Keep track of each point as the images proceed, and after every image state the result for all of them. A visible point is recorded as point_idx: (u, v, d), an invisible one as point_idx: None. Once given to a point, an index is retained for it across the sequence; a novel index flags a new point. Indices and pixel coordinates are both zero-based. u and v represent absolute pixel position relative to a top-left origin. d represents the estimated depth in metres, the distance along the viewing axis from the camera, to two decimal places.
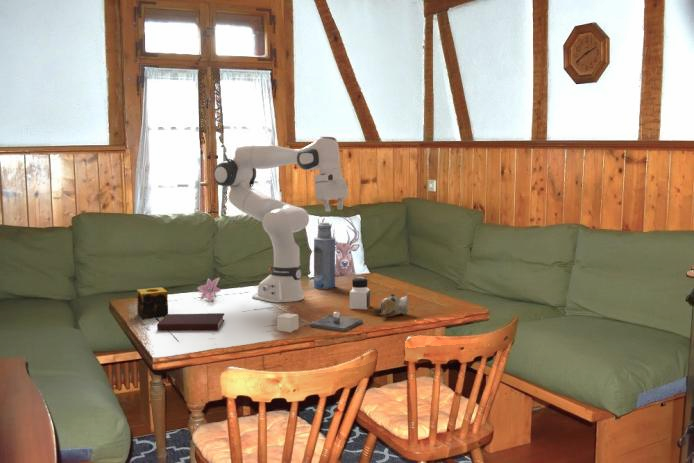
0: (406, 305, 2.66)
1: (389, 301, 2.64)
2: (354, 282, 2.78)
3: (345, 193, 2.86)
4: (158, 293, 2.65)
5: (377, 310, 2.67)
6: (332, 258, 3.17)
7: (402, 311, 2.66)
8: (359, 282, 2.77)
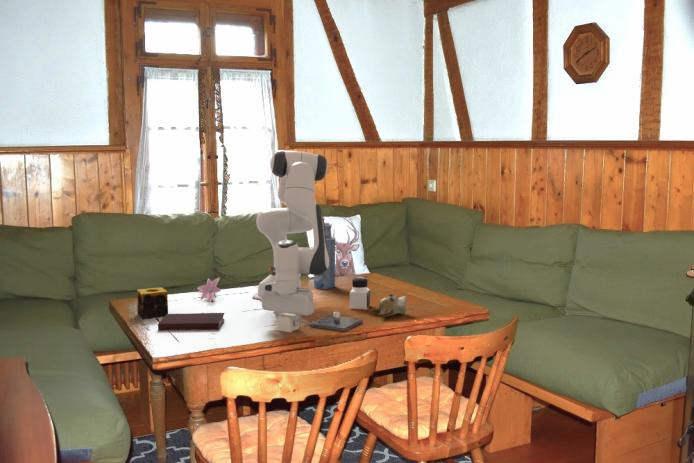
0: (404, 305, 2.66)
1: (388, 301, 2.64)
2: (354, 282, 2.78)
3: (302, 310, 2.42)
4: (158, 293, 2.65)
5: (375, 310, 2.67)
6: (332, 258, 3.17)
7: (400, 311, 2.67)
8: (359, 282, 2.77)
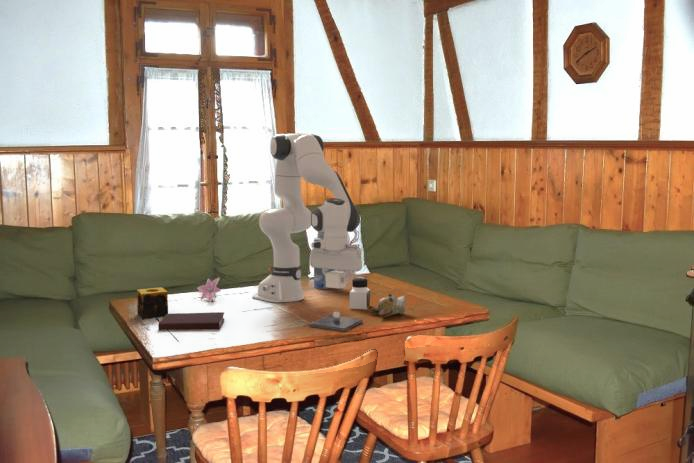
0: (403, 305, 2.66)
1: (387, 301, 2.64)
2: (354, 282, 2.78)
3: (351, 266, 2.46)
4: (158, 293, 2.65)
5: (374, 310, 2.67)
6: None
7: (399, 311, 2.67)
8: (359, 282, 2.77)
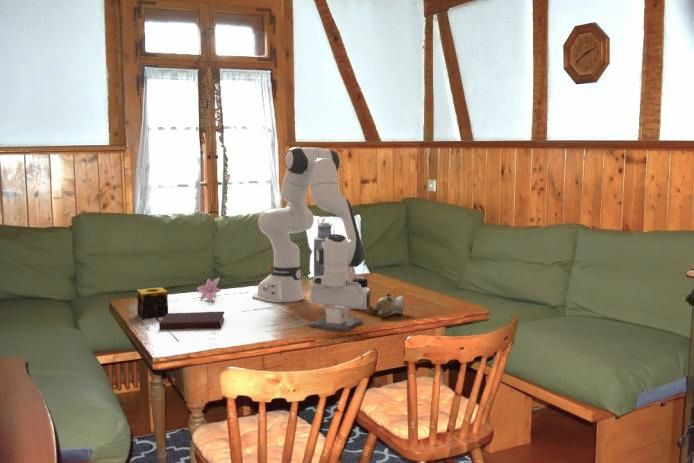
0: (402, 305, 2.66)
1: (385, 301, 2.64)
2: None
3: (351, 302, 2.48)
4: (158, 293, 2.65)
5: (373, 310, 2.67)
6: None
7: (398, 311, 2.67)
8: (359, 282, 2.77)
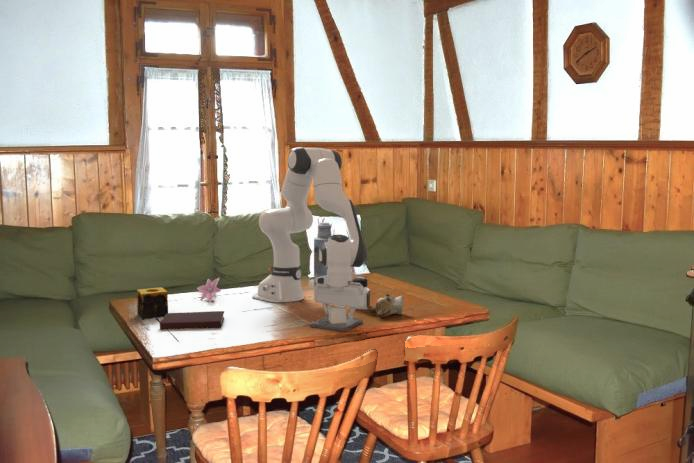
0: (401, 305, 2.66)
1: (384, 301, 2.64)
2: None
3: (353, 303, 2.48)
4: (158, 293, 2.65)
5: (372, 310, 2.67)
6: None
7: (397, 311, 2.67)
8: (359, 282, 2.77)
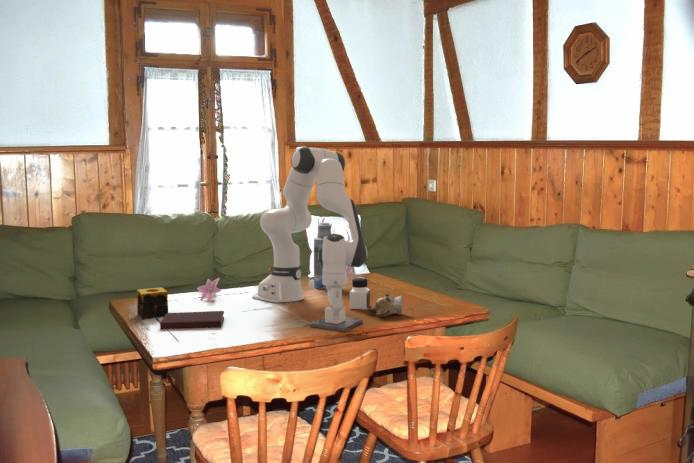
0: (401, 305, 2.66)
1: (384, 301, 2.64)
2: (354, 282, 2.78)
3: (331, 304, 2.45)
4: (158, 293, 2.65)
5: (372, 310, 2.67)
6: None
7: (397, 311, 2.67)
8: (359, 282, 2.77)
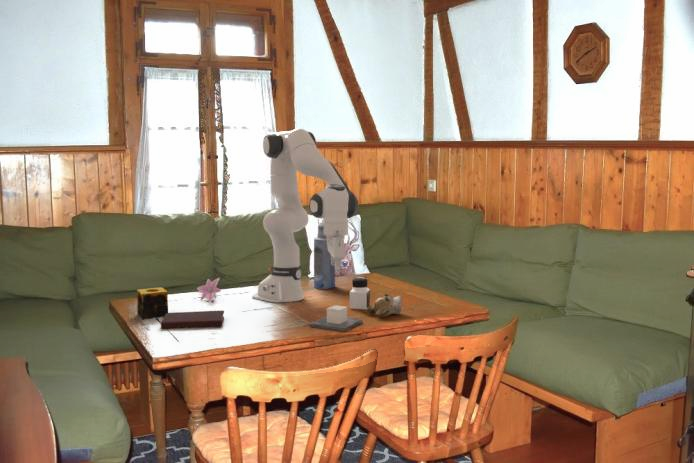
0: (400, 305, 2.66)
1: (383, 301, 2.64)
2: (354, 282, 2.78)
3: (333, 253, 2.44)
4: (158, 293, 2.65)
5: (371, 310, 2.67)
6: None
7: (396, 311, 2.67)
8: (359, 282, 2.77)
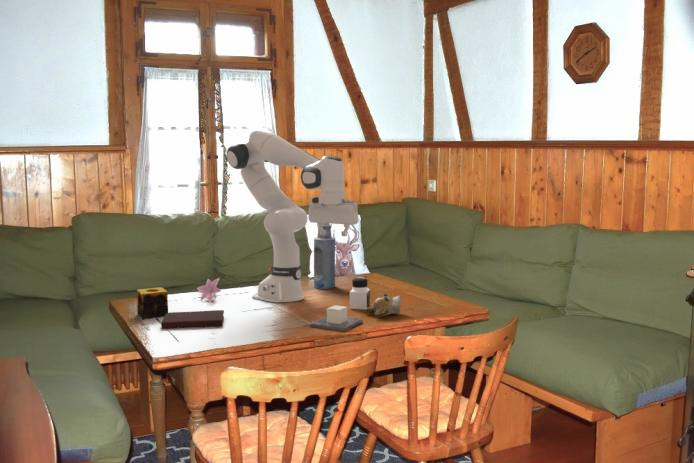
0: (399, 305, 2.66)
1: (382, 301, 2.64)
2: (354, 282, 2.78)
3: (347, 219, 2.59)
4: (158, 293, 2.65)
5: (370, 310, 2.67)
6: (332, 258, 3.17)
7: (395, 311, 2.67)
8: (359, 282, 2.77)
